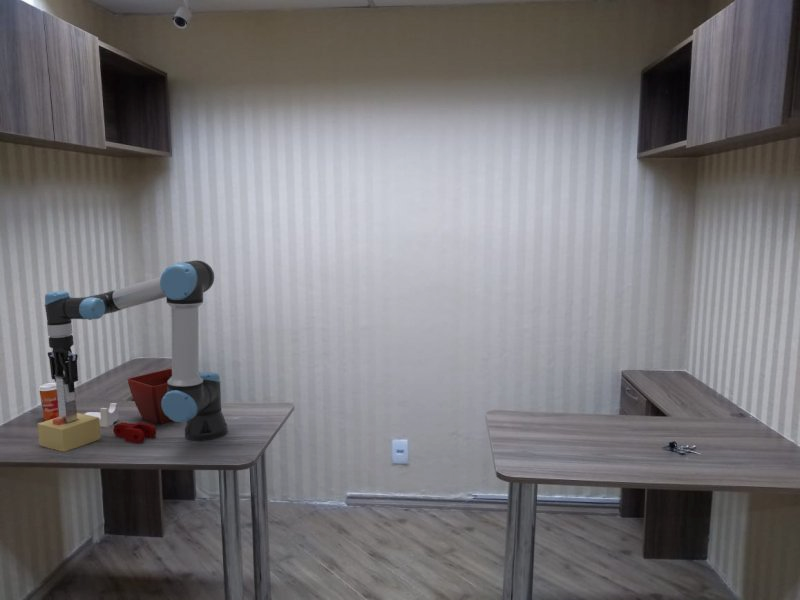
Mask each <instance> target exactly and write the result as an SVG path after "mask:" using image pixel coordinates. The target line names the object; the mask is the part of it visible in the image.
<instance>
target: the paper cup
mask: <svg viewBox="0 0 800 600" xmlns="http://www.w3.org/2000/svg"><path fill="white" fill-rule="evenodd" d="M38 391H39V396H40V403H41V408H42V414H43V419H44V421H48V420H51V419H54V418H57V417H59V408H58V398H57V387H56V382H49V383H43V384H40V385H39V387H38Z"/></svg>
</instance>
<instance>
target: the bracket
mask: <svg viewBox="0 0 800 600" xmlns="http://www.w3.org/2000/svg"><path fill="white" fill-rule="evenodd" d="M84 414H85V415H90V416H94V417H99V423H100V428H110V427H111V426H114V423H115V422H117V421H118V420H120V419H119V406H118V403H116V402H115V403H114V402H112V403H110V404H109V408H107V407H105V408H104V407H101V408H99V411H95V412H94V411H87V412H85V413H84Z"/></svg>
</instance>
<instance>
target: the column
mask: <svg viewBox="0 0 800 600" xmlns="http://www.w3.org/2000/svg"><path fill="white" fill-rule="evenodd" d="M55 378H56V382H55V383H56V387H57V398H58V408H59V418H60V419H63V421H64V424H68V423H71V422H74V421H77V413H78V411H77V400H76V398H75V400H73V401H70V402H67V400H66V390H65V383H67V382H66V378H65V373H64V374H60V375H56V376H55ZM74 389H75V387H74ZM75 390H76V389H75ZM74 393H75V394H76V391H74Z"/></svg>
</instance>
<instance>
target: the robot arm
mask: <svg viewBox="0 0 800 600" xmlns="http://www.w3.org/2000/svg"><path fill="white" fill-rule="evenodd" d="M214 282H215V273H214V270H213V268H212V266H210V264H209V263H207V262H205V261H202V260H197V259H196V260H191V261H190V260H189V261H184V262H183V261H182V262H175V263H173V264H171V265H168V266H167V267H166V268H165V269H164V270H163V271H162V273H161V276H159V277H155V278H152V279H148V280H146V281H141V282H139V283H135V284H132V285H128V286H125V287H121V288H118V289H114V290H111V291H108V292H103V293H99V294H95V295H89V296H85V297H71V296H70V292H68V291H66V290H61V291H60V290H59V291H58V290H56V291H50V292H47V293H45V295H44V307H45V314H46V325H47V336H48V347H49V348H50V349H52V351H49V352H47V356H48V359H49V360H48V361H49V367H50V368H49V369H50V376H51V379H52V380H54V381H55V382H54V383H56V378H55V376H56V375H60V374H64V373H65V378H66V382H67V383H65V390H66V400H67V402H70V401H73V400H75V399H76V391H75V390H76V389H74V388H75V383H76V382H78V381H79V375H78V373H79V372H78V357H79V356H78V353H75V354H74V353H73V352H72V348H71V347H72V346H74V345H75V344H74V336H73V324H72V320H89V321H91V320H92V321H93V320H99V319H102V317H103V316H104V315H109V314H112V313H116V312H118V311H119V312H120V311H122V310H126V309H129V308H133V307H136V306H140V305H143V304H146V303H151V302H153V301H157V300H161V299H166V304H168V306H169V307H170V309H171V369H172V377H171V378H170V379H169V380H168V382H167V393H166V394H165V395H164V397H163V399H162V402H161V406H162V410H163V412H164V414H165V415H166V416H168V417H169V419H171V420H172V421H173V422H176V423H186V425H185V428H184V437H185V439H187V440H191V441H209V440H214V439H219V438H221V437H223V436H225V435H226V434H227V433H228V425H227V422H226V420H225V416H224V415H223V412H222V399H221V398H222V395H221V393H222V392H221V380H220V379H221V378H220V375H219V374H218V373H217V372H213V371H212V372H211V371H199V367H200V366H199V363H200V362H199V355H200V354H199V350H200V349H199V307H200V306H201V305H202V304H203V303H204V293H205V292H208V290H210V288H212V286H213V285H214ZM74 391H75V393H74Z"/></svg>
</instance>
